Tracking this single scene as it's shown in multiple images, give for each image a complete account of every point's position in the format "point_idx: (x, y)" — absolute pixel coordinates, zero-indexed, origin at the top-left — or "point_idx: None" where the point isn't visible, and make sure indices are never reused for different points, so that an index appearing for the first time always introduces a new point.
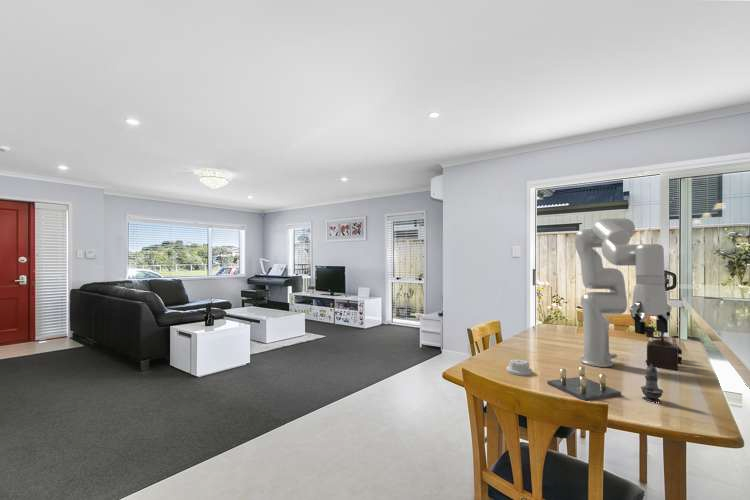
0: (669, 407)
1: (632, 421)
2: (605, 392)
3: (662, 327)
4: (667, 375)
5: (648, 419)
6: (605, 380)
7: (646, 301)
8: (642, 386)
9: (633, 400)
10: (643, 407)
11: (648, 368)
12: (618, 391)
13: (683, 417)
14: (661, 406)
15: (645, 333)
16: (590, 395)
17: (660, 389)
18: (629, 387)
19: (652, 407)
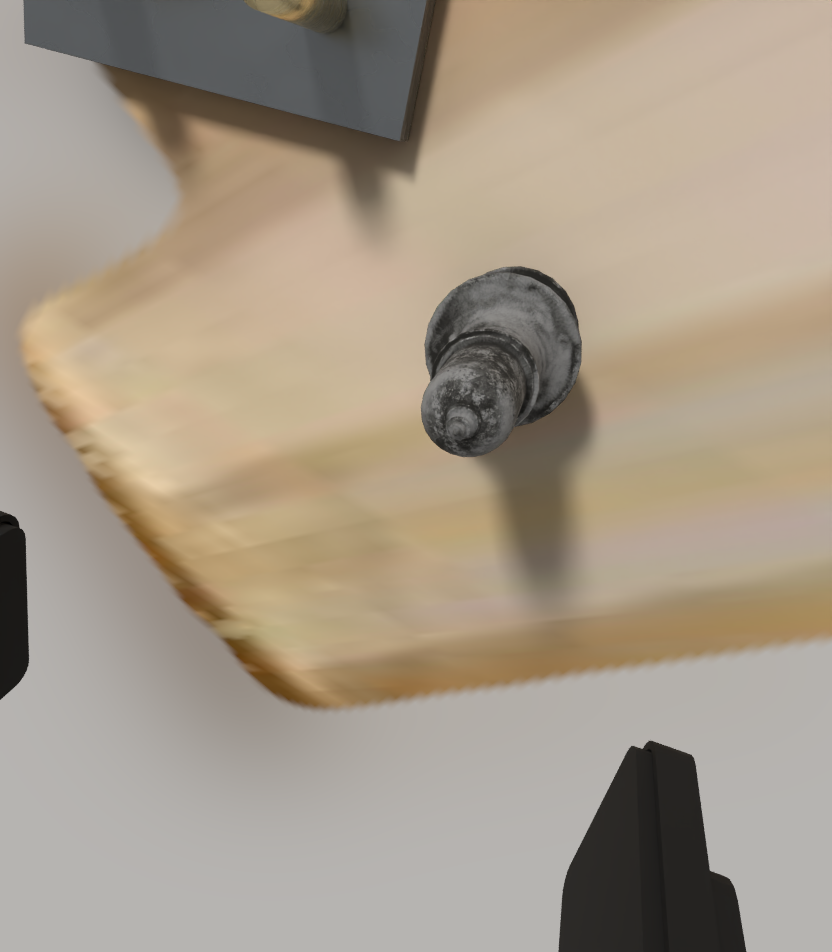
0: None
1: (73, 395)
2: (266, 75)
3: (585, 935)
4: None
5: (173, 434)
6: (291, 19)
7: None
8: (507, 279)
9: (387, 253)
10: (318, 350)
11: (425, 401)
12: (391, 123)
13: (373, 536)
14: None
15: (2, 684)
16: (99, 49)
17: (557, 397)
18: (714, 61)
19: (371, 384)
